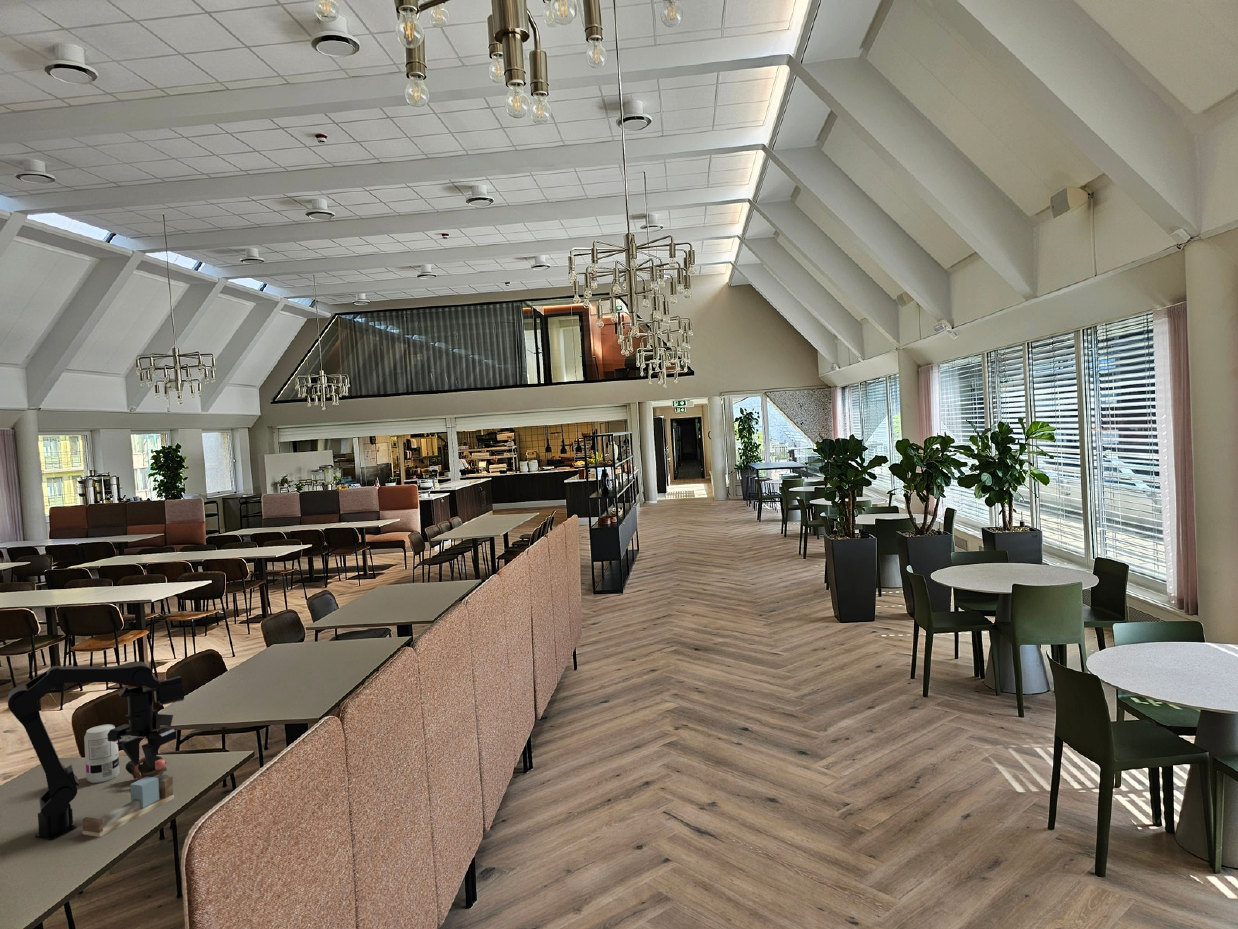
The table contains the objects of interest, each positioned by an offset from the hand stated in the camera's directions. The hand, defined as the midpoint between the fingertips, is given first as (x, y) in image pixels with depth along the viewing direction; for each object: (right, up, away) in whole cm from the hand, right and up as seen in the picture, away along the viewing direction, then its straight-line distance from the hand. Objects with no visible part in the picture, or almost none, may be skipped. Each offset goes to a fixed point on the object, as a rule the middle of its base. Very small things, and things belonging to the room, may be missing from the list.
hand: (143, 765), depth 210 cm
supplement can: (-25, -12, +21) cm, 35 cm away
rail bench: (-1, -12, -4) cm, 12 cm away
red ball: (+2, -3, +5) cm, 6 cm away
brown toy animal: (-11, -12, +18) cm, 24 cm away
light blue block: (0, -10, 0) cm, 10 cm away
